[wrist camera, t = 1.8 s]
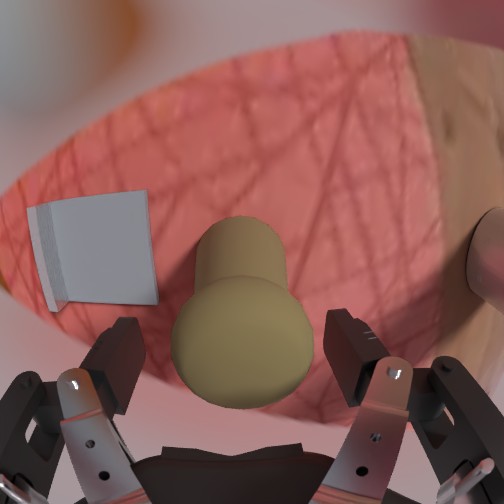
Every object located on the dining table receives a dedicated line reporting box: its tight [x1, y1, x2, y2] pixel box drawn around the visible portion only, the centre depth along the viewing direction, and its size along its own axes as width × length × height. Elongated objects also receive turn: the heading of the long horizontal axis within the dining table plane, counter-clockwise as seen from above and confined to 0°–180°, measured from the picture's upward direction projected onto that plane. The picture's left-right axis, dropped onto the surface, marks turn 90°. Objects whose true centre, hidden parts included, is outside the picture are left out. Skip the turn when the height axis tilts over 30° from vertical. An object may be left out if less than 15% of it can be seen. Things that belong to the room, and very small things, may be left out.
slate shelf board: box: [51, 190, 160, 305], centre depth 17 cm, size 8×8×1 cm
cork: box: [171, 216, 314, 409], centre depth 13 cm, size 6×6×11 cm
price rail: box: [27, 201, 70, 312], centre depth 16 cm, size 1×8×2 cm, turn 1°
